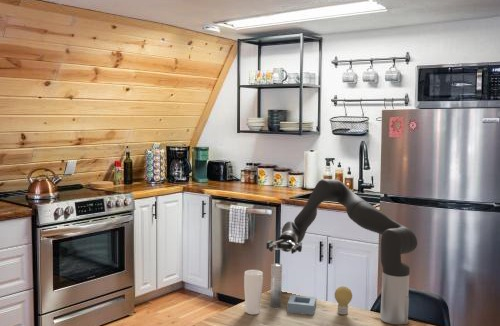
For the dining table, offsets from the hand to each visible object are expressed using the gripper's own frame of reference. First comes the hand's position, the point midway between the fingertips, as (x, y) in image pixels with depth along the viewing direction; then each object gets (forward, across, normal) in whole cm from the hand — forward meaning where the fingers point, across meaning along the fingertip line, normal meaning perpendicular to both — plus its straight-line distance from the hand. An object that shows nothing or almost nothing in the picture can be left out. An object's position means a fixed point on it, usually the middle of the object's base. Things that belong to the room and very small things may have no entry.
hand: (281, 250), depth 206 cm
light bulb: (+11, +25, +19) cm, 34 cm away
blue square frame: (+11, +10, +19) cm, 24 cm away
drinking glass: (+20, -7, +19) cm, 28 cm away
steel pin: (+11, 0, +19) cm, 22 cm away
